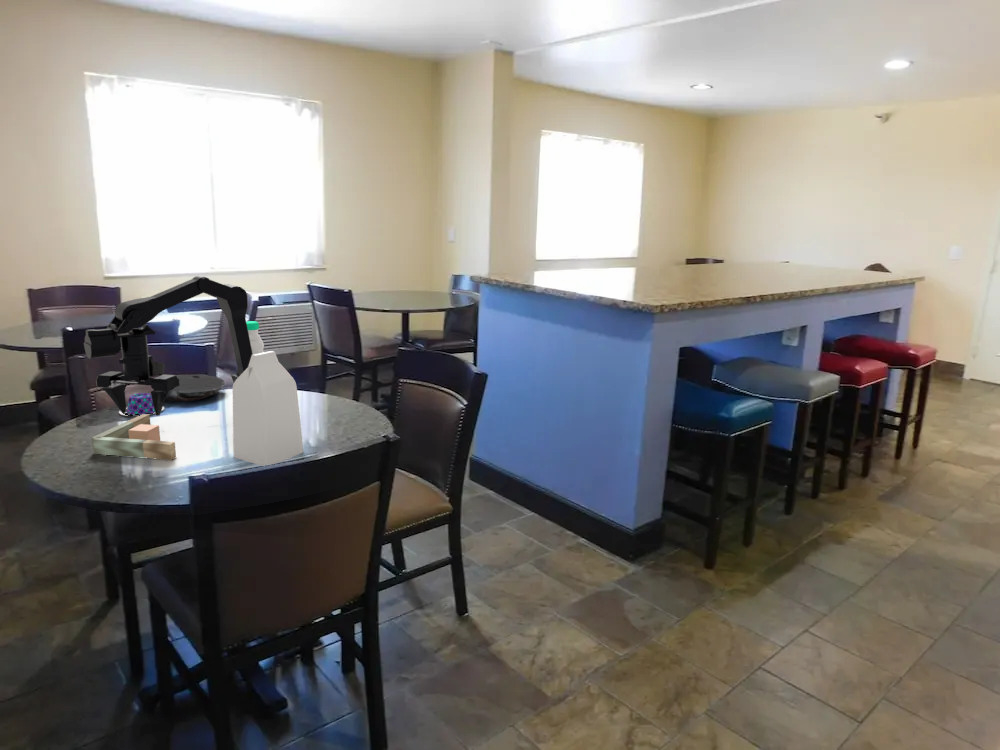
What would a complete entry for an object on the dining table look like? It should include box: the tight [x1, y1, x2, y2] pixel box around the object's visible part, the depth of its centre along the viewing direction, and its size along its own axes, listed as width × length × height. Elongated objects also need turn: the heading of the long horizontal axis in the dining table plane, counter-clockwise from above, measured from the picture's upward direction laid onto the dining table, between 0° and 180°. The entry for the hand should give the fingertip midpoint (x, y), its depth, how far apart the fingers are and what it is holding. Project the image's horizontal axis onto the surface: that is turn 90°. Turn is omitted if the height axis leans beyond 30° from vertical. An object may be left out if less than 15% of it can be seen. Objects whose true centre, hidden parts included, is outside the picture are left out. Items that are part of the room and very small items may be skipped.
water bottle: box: [246, 320, 265, 355], centre depth 213 cm, size 7×7×25 cm
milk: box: [232, 350, 304, 467], centre depth 166 cm, size 12×12×26 cm
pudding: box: [118, 392, 165, 417], centre depth 200 cm, size 12×12×5 cm
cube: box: [128, 424, 161, 441], centre depth 172 cm, size 5×5×5 cm
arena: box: [91, 414, 177, 461], centre depth 174 cm, size 21×21×4 cm
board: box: [165, 374, 227, 403], centre depth 218 cm, size 22×22×5 cm
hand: (141, 414), depth 170 cm, fingers open, 9 cm apart
